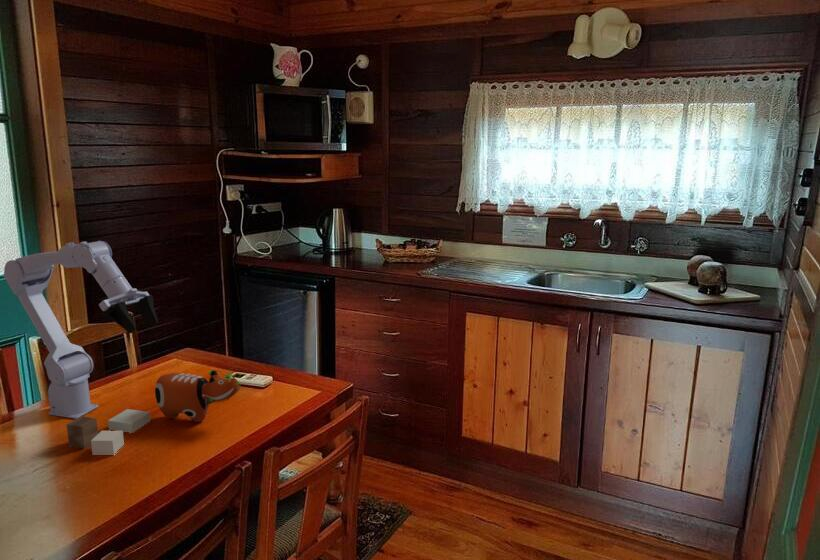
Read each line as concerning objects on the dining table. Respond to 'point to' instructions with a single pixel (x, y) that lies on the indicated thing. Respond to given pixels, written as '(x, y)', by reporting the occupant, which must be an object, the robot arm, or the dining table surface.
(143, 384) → the dining table surface
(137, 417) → the sage slab
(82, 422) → the walnut block
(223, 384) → the toy
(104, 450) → the cream block
